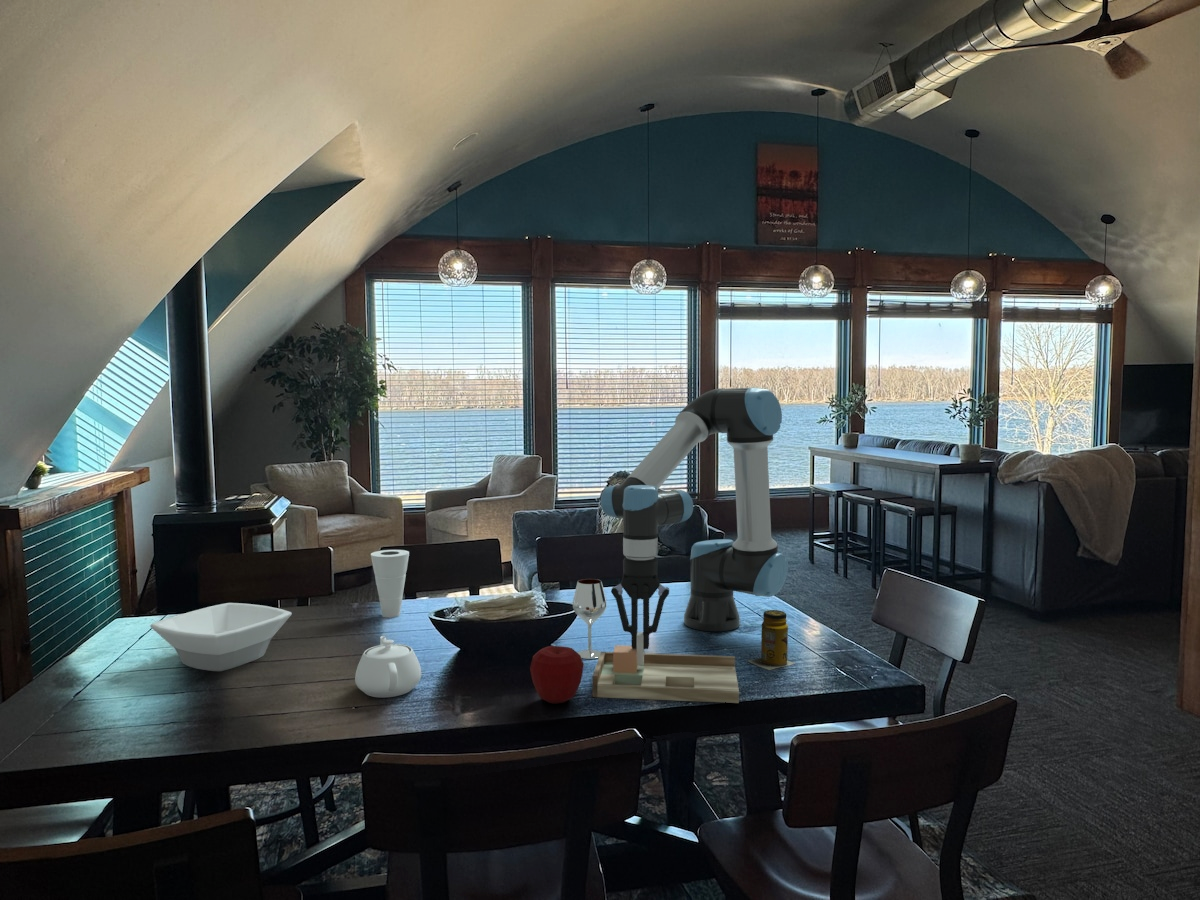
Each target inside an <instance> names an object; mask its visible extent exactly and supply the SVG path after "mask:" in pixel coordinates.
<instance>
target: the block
mask: <svg viewBox="0 0 1200 900" xmlns="http://www.w3.org/2000/svg"><path fill="white" fill-rule="evenodd" d="M612 652H613V673H636V672H637V667H638V665H637V649H632V645H623V644H621V645H618V644H615V645H614V649H613V651H612Z"/></svg>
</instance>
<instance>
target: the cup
mask: <svg viewBox="0 0 1200 900" xmlns="http://www.w3.org/2000/svg"><path fill="white" fill-rule="evenodd" d="M409 556H410V551H409V550H405V549H382V550H377V551H373V552H371V553H370V558H371V562H372V563H371V564H372V568H373V573H374V579H375V584H376V588H377V595H378V600H379V605H380V609H381V614H382V615H381V616H382V617H383V618H387V619H389V618H391V619H392V618H397V617H399V616H400V615H401V611H402V603H403V594H404V588H405V582H406V576H407V574H406V573H407V570H408V564H409Z"/></svg>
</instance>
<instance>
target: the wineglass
mask: <svg viewBox="0 0 1200 900" xmlns="http://www.w3.org/2000/svg"><path fill="white" fill-rule="evenodd" d="M606 598H607V597H606V593H605V590H604V586H603V582H602V580H600V579H598V578H597V579H596V578H583V579H579V580H577V582H576V587H575V590H574V595H573V601H572V608H573V611H574V613H575V615H577V616H578V617H579V618H580V619H581V620H582V621H583V622H584V623H585V624H586V625H587V649H584V650H580V651H578V652H577V653H578V654H579V655H580V656H581V659H582V660H596V659H599V656H600V653H601V652H602V651H600V650H596V649H593V647H592V626H593V625H594V623H595V622H596V621H597V620H598V619H599V618H601V617H602V615H604V613H605V612H606V609H607V606H608V605H607V603H608V602H607V599H606Z"/></svg>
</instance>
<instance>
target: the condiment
mask: <svg viewBox="0 0 1200 900" xmlns="http://www.w3.org/2000/svg"><path fill="white" fill-rule="evenodd" d="M762 619H763V621H762V623H761V639H760V640H761V643H760V644H761V647H760V648H761V651H760V653H761V655H760V657H757V658H754V659H748V660H747V662H749V663H751V664H752V665H755V666H756V667H759V668H762V669H765V670H767V671H771V670H775V669H779V668H784V667H788V666H792V665H795V664H796V662H794V661H789V660H788V644H789V643H788V641H789V639H788V638H789V636H788V633H789V631H788V630H789V628H788V627H789V625H788V623H787V613H786V612H784V611H783V610H778V609H767V610H764V612H763V618H762Z"/></svg>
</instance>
